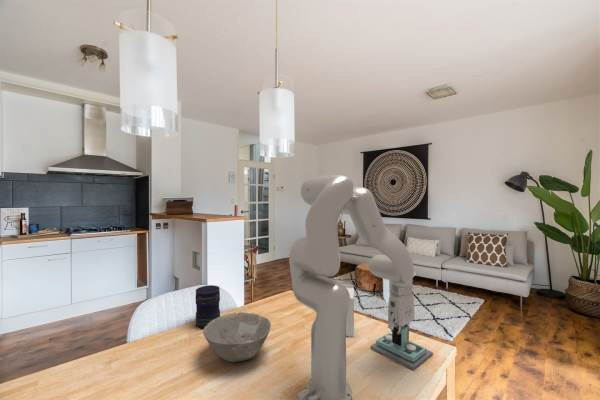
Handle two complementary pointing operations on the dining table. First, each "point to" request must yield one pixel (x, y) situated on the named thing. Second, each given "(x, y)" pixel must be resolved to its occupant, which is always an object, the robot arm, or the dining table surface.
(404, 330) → the teal frame with block
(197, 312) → the storage jar
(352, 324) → the milk carton
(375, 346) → the board
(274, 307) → the dining table surface
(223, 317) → the ceramic bowl
